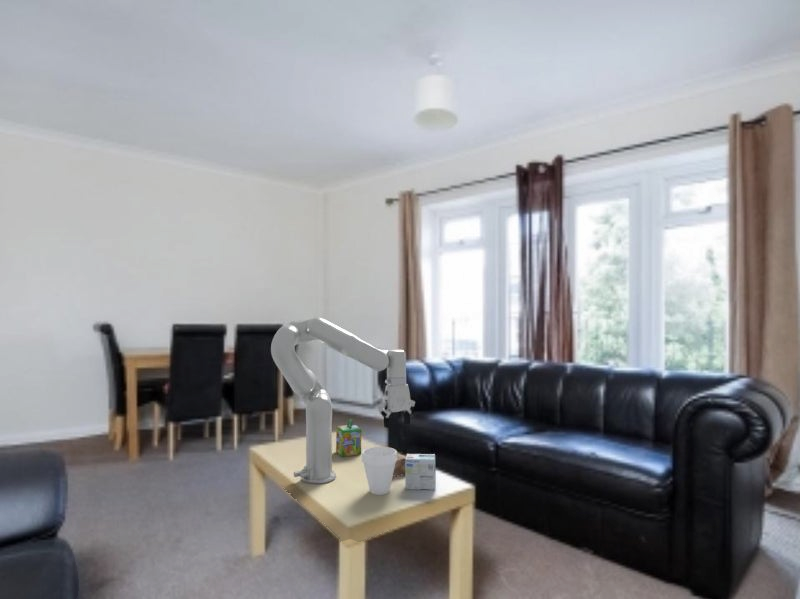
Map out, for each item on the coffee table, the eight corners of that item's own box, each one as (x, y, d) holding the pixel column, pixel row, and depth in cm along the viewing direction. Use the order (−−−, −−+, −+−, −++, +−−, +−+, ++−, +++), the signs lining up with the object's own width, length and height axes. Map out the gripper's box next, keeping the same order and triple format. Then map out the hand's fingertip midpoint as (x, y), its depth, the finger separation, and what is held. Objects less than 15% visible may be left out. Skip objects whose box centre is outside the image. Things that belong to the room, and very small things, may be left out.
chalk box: (335, 452, 209) (335, 418, 210) (355, 449, 213) (354, 416, 214) (342, 457, 201) (341, 423, 201) (362, 454, 205) (361, 420, 205)
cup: (378, 482, 170) (378, 444, 171) (404, 490, 163) (404, 450, 163) (354, 492, 161) (354, 452, 161) (381, 500, 153) (380, 459, 154)
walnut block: (395, 476, 177) (395, 460, 177) (386, 472, 181) (386, 456, 182) (408, 473, 180) (407, 457, 180) (398, 469, 185) (398, 454, 185)
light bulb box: (435, 483, 169) (435, 453, 169) (435, 490, 162) (435, 459, 162) (406, 482, 170) (406, 453, 170) (405, 489, 163) (404, 458, 163)
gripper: (383, 384, 174) (384, 430, 173) (419, 380, 184) (420, 424, 184) (372, 382, 180) (373, 427, 179) (408, 378, 190) (408, 420, 190)
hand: (397, 425), depth 181 cm, fingers open, 9 cm apart
